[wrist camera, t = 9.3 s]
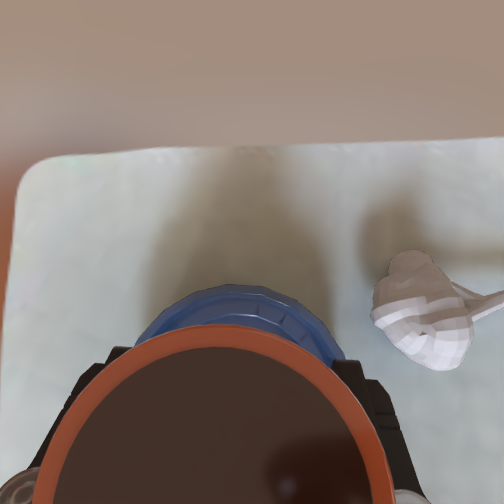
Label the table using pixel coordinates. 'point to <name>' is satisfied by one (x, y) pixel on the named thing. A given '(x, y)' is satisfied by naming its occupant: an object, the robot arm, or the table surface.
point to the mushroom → (428, 311)
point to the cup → (215, 428)
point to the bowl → (249, 317)
